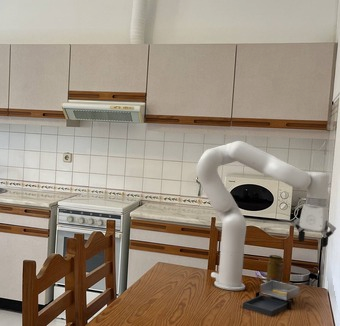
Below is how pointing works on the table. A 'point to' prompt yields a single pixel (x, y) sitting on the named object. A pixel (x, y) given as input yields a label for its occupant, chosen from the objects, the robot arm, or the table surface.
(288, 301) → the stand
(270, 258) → the condiment
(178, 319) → the table surface
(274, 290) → the key
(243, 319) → the table surface
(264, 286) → the scoop
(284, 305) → the tray
